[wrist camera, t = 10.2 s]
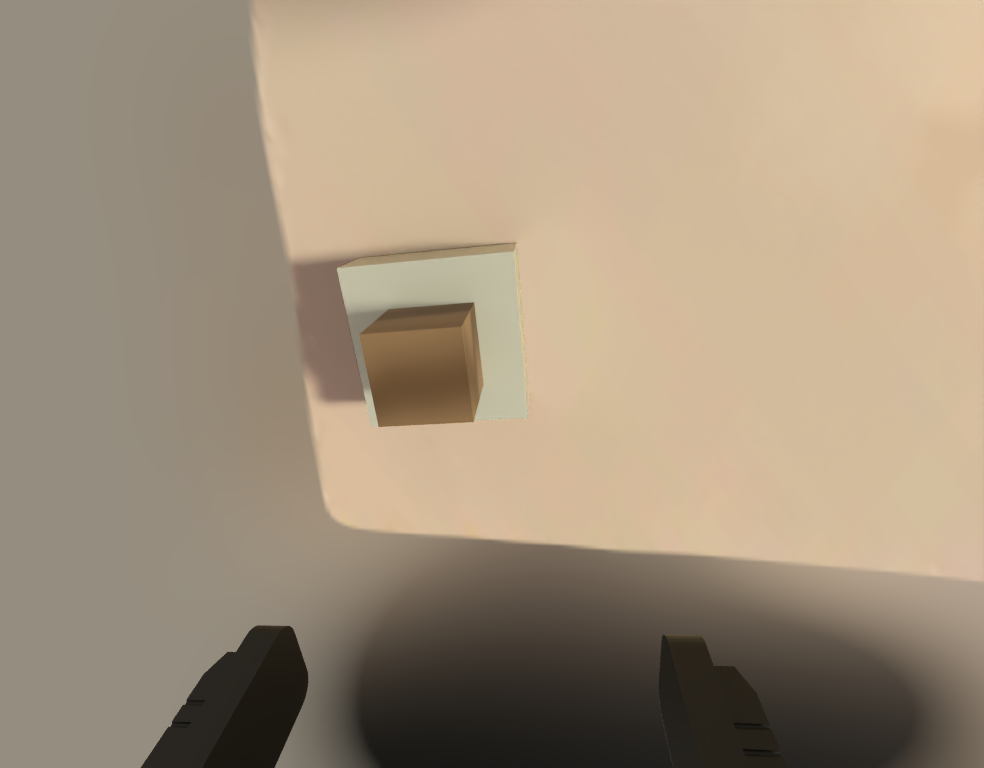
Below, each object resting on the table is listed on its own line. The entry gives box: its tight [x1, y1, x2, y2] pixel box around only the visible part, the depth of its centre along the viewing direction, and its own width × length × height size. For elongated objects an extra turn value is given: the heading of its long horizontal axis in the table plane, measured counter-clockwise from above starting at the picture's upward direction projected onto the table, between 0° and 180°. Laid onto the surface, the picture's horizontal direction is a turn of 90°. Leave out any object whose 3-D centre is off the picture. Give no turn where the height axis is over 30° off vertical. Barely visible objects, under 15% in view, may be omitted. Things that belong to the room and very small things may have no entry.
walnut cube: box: [359, 302, 484, 427], centre depth 26 cm, size 5×5×5 cm
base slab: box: [337, 243, 529, 426], centre depth 30 cm, size 10×10×4 cm
